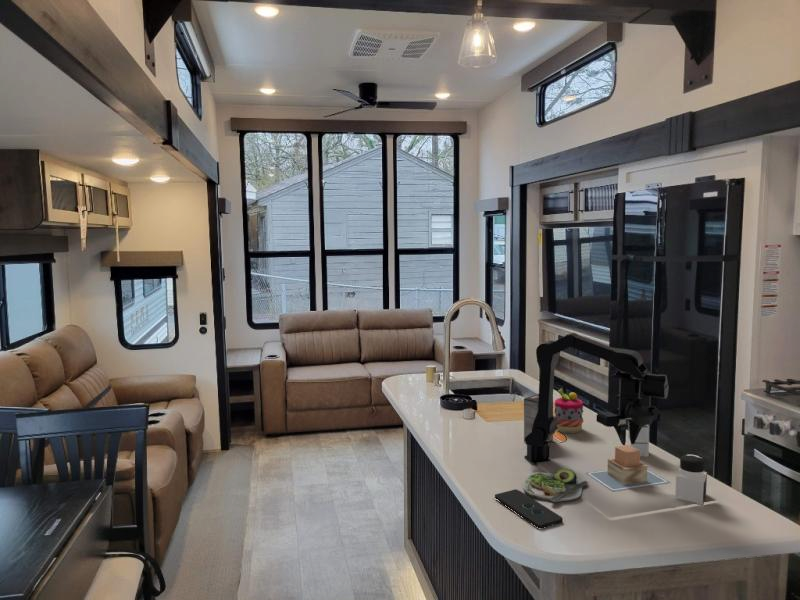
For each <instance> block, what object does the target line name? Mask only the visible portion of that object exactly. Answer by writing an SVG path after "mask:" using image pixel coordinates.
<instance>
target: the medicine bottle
mask: <svg viewBox="0 0 800 600" xmlns="http://www.w3.org/2000/svg"><path fill="white" fill-rule="evenodd" d="M679 459H680V461H679V469H678V471H677V473H676V476H675V490H674V491H675V493H674V494H675V495H674V498H675V500H676V499H678V500H682V501H686V502H690V503H691V502H692V503H693V504H694V505H698V506H699V505H700V506H704V504H705V499H706V496H707V483H708V482H707V481H708V480H707V479H708V472H707V471H705V459H703V457H700V456H699V455H695V454H684V455H681V456H680V458H679Z"/></svg>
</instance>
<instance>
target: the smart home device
mask: <svg viewBox="0 0 800 600" xmlns="http://www.w3.org/2000/svg"><path fill="white" fill-rule="evenodd" d="M495 498H496V499H498V500H499V501H500V502H501V503H503V504H504V505H506V506H507V507H509V508H510V509H512V510H513V511H515V512H516V513H517V514H519V515H520V516H522V517H523V518H524V519H526V520H527V521H529V522H530V523H532V524H533V525H535V526H536V527H538V528H543V529H545V528H544V527H546V528H549V527H548V526H550V527H553V526H556V524H557V525H560V524H563V519H564V518H563V517H562V516H561V515H559V513H556V512H554V511H552V510H551V509H549V508H548V507H547V506H545V505H543V504H542V503H540V502H538V501H537V500H535V499H534V498H533V497H531V496H530V495H527V493H524V492H523V491H521V490H519V489H511V490H507V491H504V492H503V491H502V492H500V493H495V494H494V499H495ZM500 502H499V503H500ZM501 503H500V504H501ZM504 505H503V506H504ZM507 507H506V508H507ZM510 509H509V510H510ZM513 511H512V512H513ZM516 513H515V514H516ZM517 514H516V515H517ZM519 515H518V516H519ZM520 516H519V517H520ZM523 518H522V519H523ZM524 519H523V520H524ZM526 520H525V521H526ZM527 521H526V522H527ZM529 522H528V523H529ZM530 523H529V524H530ZM532 524H531V525H532ZM533 525H532V526H533ZM552 525H553V526H552ZM535 526H534V527H535ZM536 527H535V528H536ZM538 528H537V529H538Z"/></svg>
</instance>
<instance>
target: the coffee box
mask: <svg viewBox="0 0 800 600" xmlns="http://www.w3.org/2000/svg"><path fill="white" fill-rule="evenodd" d="M538 397H539V393H537V394H534V395H531V396H527V397H525V398H523V441H524V443H526V442H525V439H524V438H525V437H526V436H527V435H529V434H530V433H531V432H532V426H533V422H534V420H535V417H536V415H537V412H538ZM552 413H553V414H554V402H553V403H552ZM553 440H554V434H553V435H552V436H550V438H549V440H547V442H550V441H553Z"/></svg>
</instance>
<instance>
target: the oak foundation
mask: <svg viewBox="0 0 800 600" xmlns="http://www.w3.org/2000/svg"><path fill="white" fill-rule="evenodd" d="M647 469H648V465H647V464H646V463H643V462H642V461H640V466H634V467H627V468H624V467H623V466H621V465H619V464H618V463H616V462H615V457H614V458H608V459H607V470H608V473H607V474H608V475H610V476H611V477H613V478H614V479H616V480H617V481H619V482H620V483H622V484H624V485H625V484H632V483H639V482H645V481H647ZM648 470H649V469H648Z"/></svg>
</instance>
